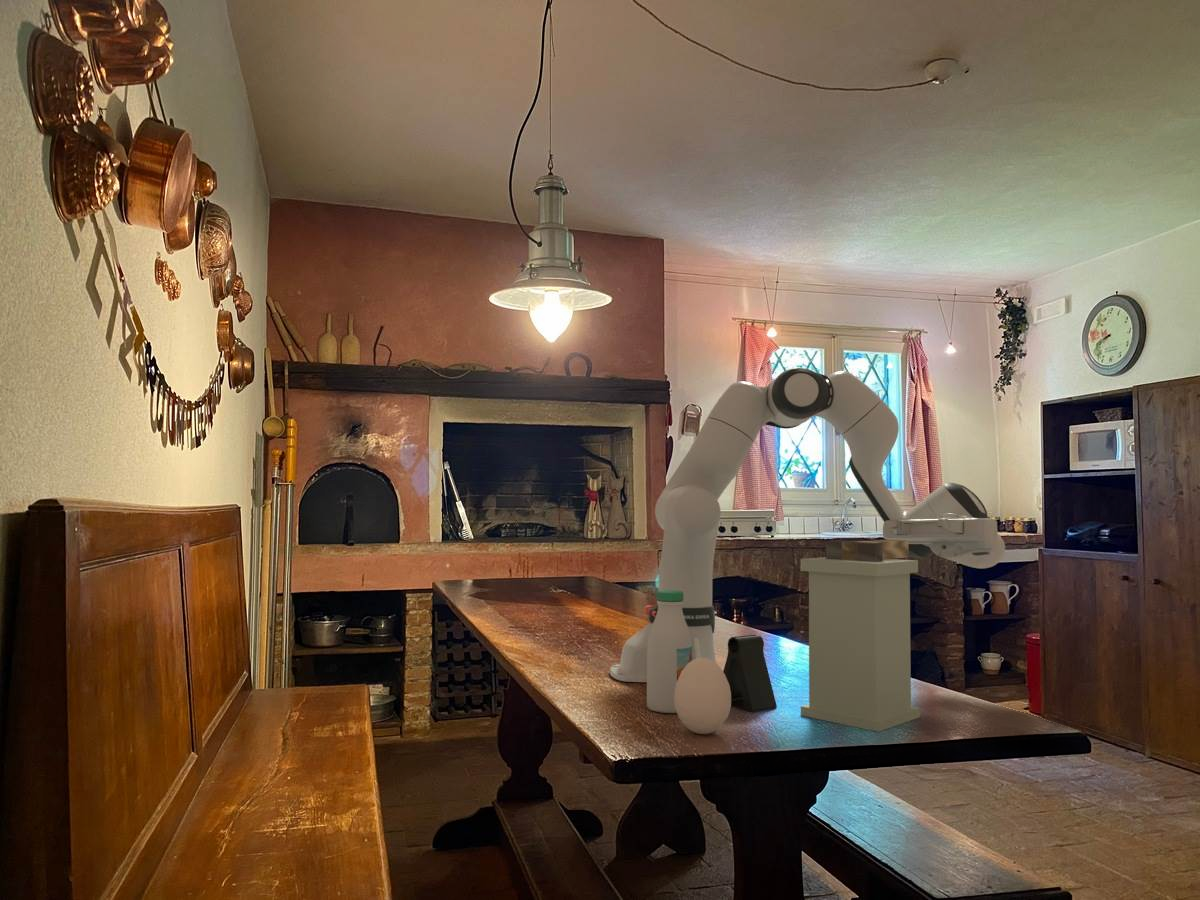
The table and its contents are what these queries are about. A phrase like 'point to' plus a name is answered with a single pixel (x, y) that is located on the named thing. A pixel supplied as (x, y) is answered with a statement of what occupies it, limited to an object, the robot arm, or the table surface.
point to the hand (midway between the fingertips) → (916, 523)
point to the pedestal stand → (860, 642)
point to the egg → (702, 696)
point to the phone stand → (748, 674)
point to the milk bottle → (667, 651)
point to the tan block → (867, 550)
